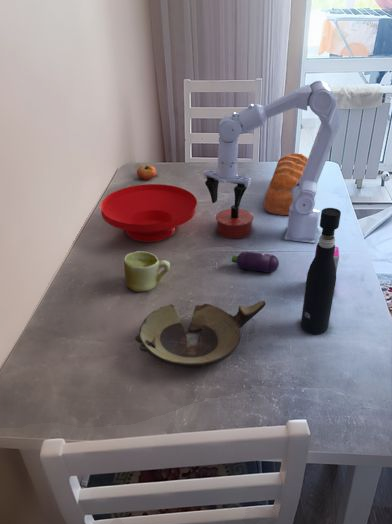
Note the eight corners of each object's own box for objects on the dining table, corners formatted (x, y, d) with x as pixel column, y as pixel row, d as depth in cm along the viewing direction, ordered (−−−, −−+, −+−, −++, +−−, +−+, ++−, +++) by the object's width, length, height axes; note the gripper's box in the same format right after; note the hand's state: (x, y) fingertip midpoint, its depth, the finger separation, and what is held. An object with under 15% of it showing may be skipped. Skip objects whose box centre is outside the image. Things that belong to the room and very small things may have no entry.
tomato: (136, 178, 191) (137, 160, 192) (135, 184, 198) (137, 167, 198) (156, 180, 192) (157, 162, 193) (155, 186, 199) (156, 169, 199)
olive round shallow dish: (142, 318, 121) (139, 293, 117) (261, 315, 121) (263, 289, 116) (133, 381, 104) (129, 355, 99) (273, 378, 103) (275, 351, 98)
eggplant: (279, 267, 138) (281, 252, 135) (276, 276, 134) (277, 261, 131) (234, 261, 142) (234, 246, 138) (230, 270, 138) (230, 255, 135)
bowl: (87, 244, 153) (81, 215, 146) (132, 205, 175) (129, 178, 169) (174, 260, 143) (172, 230, 137) (210, 217, 165) (210, 189, 159)
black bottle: (329, 320, 118) (348, 206, 100) (326, 336, 113) (345, 220, 95) (303, 316, 120) (317, 203, 102) (298, 331, 115) (313, 216, 97)
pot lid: (256, 213, 158) (257, 200, 155) (248, 230, 149) (249, 217, 146) (221, 210, 161) (221, 197, 158) (211, 226, 152) (211, 212, 149)
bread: (314, 182, 186) (318, 148, 178) (307, 217, 162) (311, 180, 154) (273, 179, 190) (276, 145, 182) (261, 213, 166) (263, 177, 158)
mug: (114, 288, 129) (120, 253, 125) (126, 279, 138) (133, 245, 134) (157, 301, 127) (165, 266, 124) (167, 291, 137) (174, 257, 133)
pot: (254, 224, 160) (255, 212, 157) (247, 240, 151) (247, 227, 149) (222, 221, 162) (222, 209, 160) (213, 236, 154) (213, 223, 152)
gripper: (199, 160, 140) (198, 204, 148) (244, 169, 135) (241, 214, 143) (210, 153, 145) (209, 196, 153) (254, 161, 139) (251, 205, 148)
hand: (225, 204), depth 148 cm, fingers open, 7 cm apart
